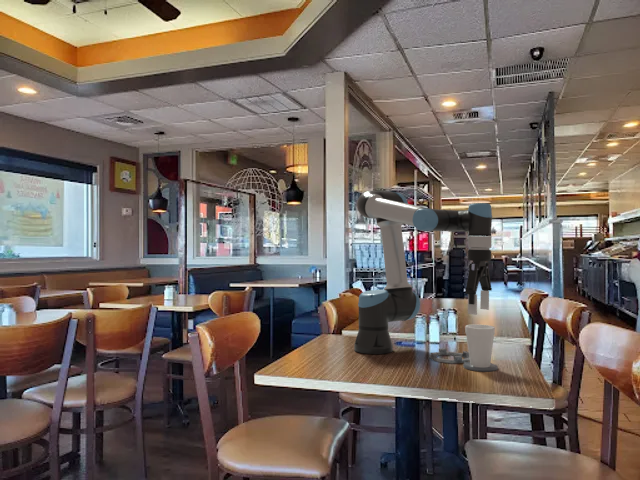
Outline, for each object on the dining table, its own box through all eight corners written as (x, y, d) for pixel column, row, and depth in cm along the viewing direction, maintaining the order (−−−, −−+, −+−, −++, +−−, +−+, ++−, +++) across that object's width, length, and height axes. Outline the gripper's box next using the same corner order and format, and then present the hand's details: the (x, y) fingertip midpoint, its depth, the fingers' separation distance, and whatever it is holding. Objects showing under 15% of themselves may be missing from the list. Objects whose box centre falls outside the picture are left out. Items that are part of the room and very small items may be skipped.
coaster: (458, 368, 163) (458, 366, 163) (469, 362, 172) (469, 359, 172) (492, 373, 157) (492, 370, 157) (501, 366, 166) (501, 364, 166)
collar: (424, 359, 176) (424, 353, 176) (439, 352, 187) (438, 347, 187) (462, 365, 168) (462, 358, 168) (474, 357, 179) (474, 351, 179)
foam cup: (467, 367, 161) (466, 328, 161) (464, 361, 170) (464, 324, 170) (497, 369, 159) (496, 329, 159) (492, 362, 168) (492, 324, 168)
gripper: (479, 248, 177) (478, 306, 178) (456, 249, 157) (455, 315, 157) (500, 248, 173) (500, 308, 173) (479, 249, 153) (478, 317, 153)
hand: (478, 311), depth 165 cm, fingers open, 13 cm apart
